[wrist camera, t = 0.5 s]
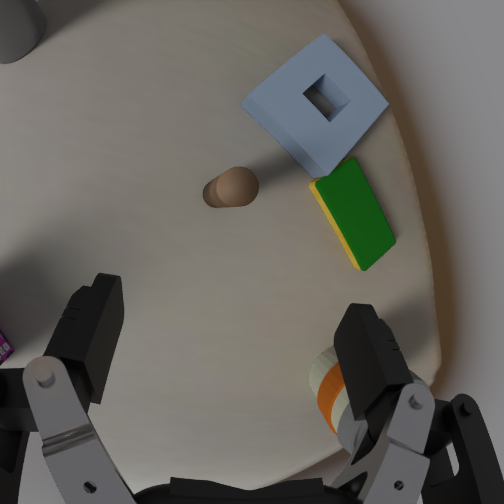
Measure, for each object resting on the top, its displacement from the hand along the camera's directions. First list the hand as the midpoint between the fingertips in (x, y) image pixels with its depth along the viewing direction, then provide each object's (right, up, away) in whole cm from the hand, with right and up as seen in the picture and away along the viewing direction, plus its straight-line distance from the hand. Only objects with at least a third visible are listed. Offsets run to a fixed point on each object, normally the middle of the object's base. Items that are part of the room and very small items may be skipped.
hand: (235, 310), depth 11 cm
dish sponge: (+14, +7, +31) cm, 35 cm away
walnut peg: (-4, +9, +26) cm, 27 cm away
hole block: (+9, +21, +27) cm, 35 cm away
